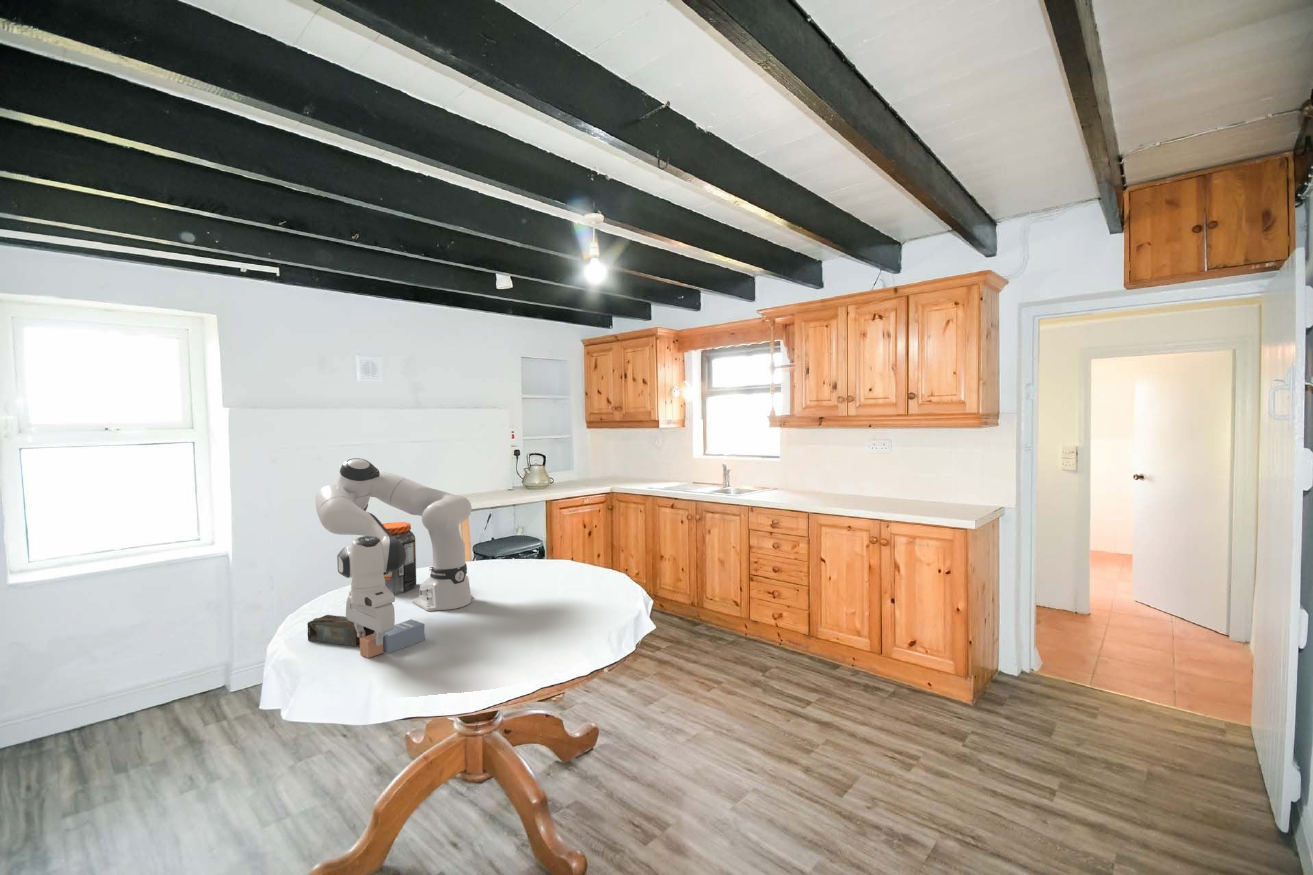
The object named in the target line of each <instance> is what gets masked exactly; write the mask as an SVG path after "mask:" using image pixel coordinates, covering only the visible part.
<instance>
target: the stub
mask: <svg viewBox="0 0 1313 875" xmlns="http://www.w3.org/2000/svg"><path fill="white" fill-rule="evenodd" d="M376 636H377V634H375V633H374V634H371V635H368V636H365V637H362V638H360V645H359V653H360V656H362V657H366V658H367V659H369V658H373V657H376V656H377V655H378V656H379V655H380V654H383V653H384V652H383V644H382V645H379V646H377V645H375V644H374V639H376Z"/></svg>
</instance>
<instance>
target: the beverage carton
mask: <svg viewBox="0 0 1313 875" xmlns="http://www.w3.org/2000/svg"><path fill="white" fill-rule="evenodd" d="M363 628H364V631H365V636H368V635H371V634H374V632H375V631H374V630H372V629H369V628H366V627H364V626H363ZM307 641H310V642H318V643H324V644H325V643H327V644H336V645H345V646H353V647H358V646H360V638H358V637H357V631H356V629H355V626H354V622H351V621H349V620H347V618H346V616H342V615H334V614H333V615H332V614H326V615H325V614H324V616H323V615H322V616H320V617H316V618H313V619H312V620H310V621H308V622H307Z"/></svg>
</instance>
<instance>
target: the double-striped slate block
mask: <svg viewBox="0 0 1313 875" xmlns="http://www.w3.org/2000/svg"><path fill="white" fill-rule="evenodd" d="M374 633H375V634H376V631H375V632H374ZM425 633H426V631H425V623H423V622H421V621H417V620H414V619H409V620H405V621H402V622H399V623H396V624H394V628H393V629H392V630H391V631H388V632H385V635H384V637H383V653H385V654H390V653H394V652H396V651H398V650H401V649H404V648H407V647H410V646H412V645H414V644H418V643H420V642H423V641H425V640H426V634H425Z"/></svg>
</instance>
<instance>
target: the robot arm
mask: <svg viewBox="0 0 1313 875" xmlns="http://www.w3.org/2000/svg"><path fill="white" fill-rule="evenodd" d="M371 498H376V499H378V500H379V501H380V502H383V503H384V504H386V505H389V507H390V506H391V507H393V508H395V509H397V510H401V512H405V513H407V514H409V515H413V516H420V517H421V522H422V524H423V526H424V528H425V529H427V532H428V534H429V537H430V541H431V547H432V566H430V567H429V571H430V575H429V577H428V578H427V579H426V580H425V581H423V583H422V584H420V586H419V590H418V596H416V597H414V598H413V599H412V600H411V602H412V603H413V604H414V605H416V606H418V607H420V608H421V609H423V610H425V611H427V612H434V611H444V610H445V611H447V610H453V609H458V608H463V607H465V606H467V605H469V604H470V603H471V602H472V599H473V597H474V595H473V593H471V587H470V580H469V579H470V578H469V576H468V575H467V574H468V567H467V563H466V543H465V541H464V540H463V539H462V536H461V532H460V529H459V528H460V525H461V524H462V523H464V522H465V521H466V520H467V519H468V518H469V516H471V512H472V503H471V502H470V500H469V499H468V498H467V497H466V496H463V495H457V494H454V493H450V492H447V491H443V490H440V489H436V488H432V487H428V486H426V485H423V484H421V483H417V482H415V481H413V480H411V479H409V478H406V477H404V476H401V475H397V474H394V473H391V472H386V471H381V472H380V470H379V469H378V468H377V467H375V465H374V464H373V463H371V462H370V461H369V460H367V459H364V458H358V457H355V458H350V459H346V460H345V461H344V462H343V463H342V465H341V467H340V468H339V475H338V478H337V480H336V484H328V485H325V486H323V487H322V488H320V489H319V490H318V491H317V493H316V495H315V508H316V514H317V516H318V518H319V521H320V523H321V525H322V527H324V529H326V531H328V532H330V533H331V534H334V535H341V536H342V535H343V536H347V535H348V536H350V535H351V536H360V537H356V538H355V539H353V540H352V542H351V544H350V545H348V546H344V547H343V548H342V549H341V550H340V551H339V552H338V553H337V557H336V559H337V572H338V574H340V575H341V576H343V577H345V578H347V579H349V578H350V579H351V584H350V591H349V592H348V593H349V594H348V596H347V598H346V602H345V603H346V604H345V617H346V618H347V620H349V621H351V622H354V626H355V629H356V631H357V637H358V638H362V637H365V631H364V628H363V626H364V627H366V628H369V629H372V630H374V631H376V634H377V636H376V639H374V644H375V645H377V646H379V645H382V644H383V637H384V635H385V632H388V631H391V630H392V629H393V628H394V625H395V616H396V615H395V612H396V611H395V606H394V604H393V603H395V601H396V596H395V594H393V593H392V592H390V591H389V589H388V588H387V587H386V586H385V578H384V575H383V573H384V572H395V571H397V570H398V569H399V568H400V567H401V566H402V565H403V564H404V562H405V560H406V552H405V548H404V546H403V544H402V543H401V542H400V541H399V540H397V539H396V538H394V537H393V536H392V535H391V534H390V532H389V531H388V530H387V529H386V528H385V527H384V526H383V524H384V523H382V521H380V520H379V518H377V517H376V515H375V514H373V513H371V512H368V511H367V510H368V506H369V501H370V499H371Z"/></svg>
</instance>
